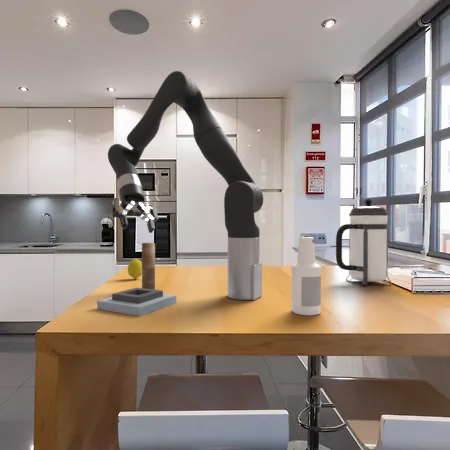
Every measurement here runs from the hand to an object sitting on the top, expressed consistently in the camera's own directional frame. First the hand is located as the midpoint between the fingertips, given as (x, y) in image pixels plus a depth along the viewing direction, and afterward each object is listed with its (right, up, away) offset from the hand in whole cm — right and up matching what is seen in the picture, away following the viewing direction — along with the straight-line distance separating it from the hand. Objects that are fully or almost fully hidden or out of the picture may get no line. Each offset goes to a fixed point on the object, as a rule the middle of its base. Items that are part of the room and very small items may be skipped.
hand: (139, 229), depth 100 cm
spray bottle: (+46, -20, -20) cm, 54 cm away
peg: (+2, -19, +4) cm, 20 cm away
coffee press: (+76, -20, +17) cm, 80 cm away
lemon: (-8, -19, +25) cm, 32 cm away
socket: (+4, -20, -15) cm, 25 cm away
